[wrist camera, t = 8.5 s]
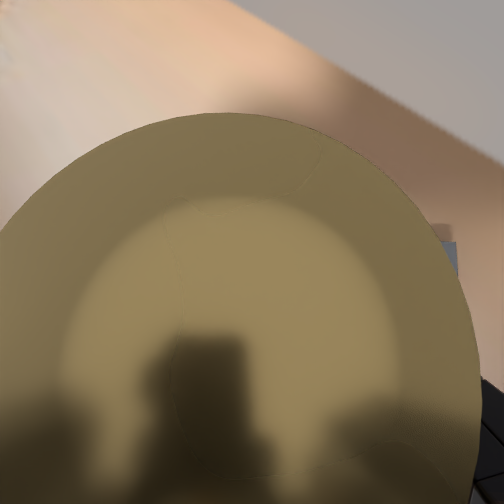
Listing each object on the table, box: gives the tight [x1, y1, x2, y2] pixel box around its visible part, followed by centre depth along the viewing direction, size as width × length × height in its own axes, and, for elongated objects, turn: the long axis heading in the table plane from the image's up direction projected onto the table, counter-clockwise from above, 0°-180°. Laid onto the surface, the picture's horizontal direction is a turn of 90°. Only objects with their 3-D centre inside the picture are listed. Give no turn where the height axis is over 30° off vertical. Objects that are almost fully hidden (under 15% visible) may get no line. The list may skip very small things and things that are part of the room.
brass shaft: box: [0, 113, 482, 504], centre depth 9 cm, size 4×4×13 cm
